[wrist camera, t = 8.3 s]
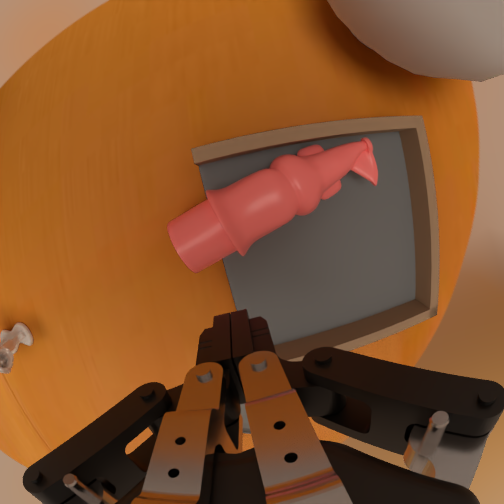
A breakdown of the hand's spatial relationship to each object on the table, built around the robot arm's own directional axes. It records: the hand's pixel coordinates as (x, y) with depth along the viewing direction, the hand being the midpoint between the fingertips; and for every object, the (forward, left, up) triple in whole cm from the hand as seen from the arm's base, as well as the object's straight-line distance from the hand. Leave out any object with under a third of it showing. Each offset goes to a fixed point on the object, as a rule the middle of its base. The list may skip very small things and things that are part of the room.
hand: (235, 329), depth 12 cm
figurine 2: (-3, -3, -7) cm, 8 cm away
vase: (-19, +18, -10) cm, 28 cm away
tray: (0, +8, -10) cm, 13 cm away
